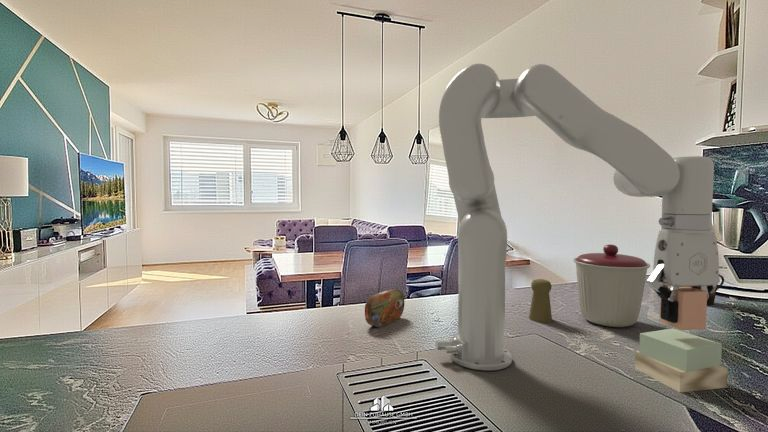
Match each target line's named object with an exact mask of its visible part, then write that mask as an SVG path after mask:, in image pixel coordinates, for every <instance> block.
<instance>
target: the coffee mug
mask: <svg viewBox="0 0 768 432" xmlns="http://www.w3.org/2000/svg"><path fill="white" fill-rule="evenodd" d="M719 278H721V279H720V280H721V281H720V282H721V283H720V284H719V283H718V284H717V285H716V286H715V287H713V290H712V291H711V292H710V293H709V294H708V295H709V298H708V299H707V306H713V305H714V304H715V300H716V294H717V290H719V289H720V288H722V286H723V285H724V283H725V278H724V276H723V275H722V274H721V273H720V272H719ZM697 288H698V287H697Z"/></svg>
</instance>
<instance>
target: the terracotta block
mask: <svg viewBox="0 0 768 432" xmlns="http://www.w3.org/2000/svg"><path fill="white" fill-rule="evenodd" d="M670 288H671V287H670V286H668V289H667V290H668V291H670ZM675 301H677V302H678V321H677V323H672V322H669V321H667V320H664V319H662V318H661V298H659V319H658V322H659V323H662V324H664V325H666V326H669V327H671V328H673V329H677V330H680V331H694V330H695V331H696V330H697V331H698V330H705V329H707V328H706V327H707V308H708V305H707V291H704V290H700V289H696V288H692V287H679V289H678V293H677V296H676V299H675Z"/></svg>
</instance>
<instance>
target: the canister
mask: <svg viewBox="0 0 768 432" xmlns="http://www.w3.org/2000/svg"><path fill="white" fill-rule="evenodd" d="M602 248H603V249H602V250H603V252H591V253H583V254H582V253H581V254H580V255H578V256H577V257H574V258H573V259H572V260H573V263H575V270H576V281H577V292H578V301H579V309H580V313H581V314H582V317H583V318H584V319H585V320H587V321H588V322H590V323H592V324H596V325H599V326H604V327H610V328H611V327H612V328H628V327H631V326H633V325H635V324H636V323H637V321H638V320H639V316H640V313H641V306H642V303H643V297H644V292H645V285H646V281H647V280H646V279H647V273H648V269H649V268H651V263H648V262H646V261H645V260H644V259H643V258H640V257H637V256H633V255H627V254H620V253H618V252H619V247H618V246H617V245H615V244H612V243H611V244H606V245H604V246H603V247H602Z"/></svg>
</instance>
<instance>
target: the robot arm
mask: <svg viewBox="0 0 768 432" xmlns="http://www.w3.org/2000/svg"><path fill="white" fill-rule="evenodd" d="M438 109H439V110H438V111H439V112H438V126H439V127H438V128H439V133H440V138H441V139H440V140H441V144H442V149H443V155H444V160H445V165H446V169H447V175H448V185H449V189H450V191H451V193H452V195H453V199H454V205H455V208H456V213H457V217H458V221H459V227H458V231H457V235H458V236H457V248H458V249H457V250H458V251H457V252H458V253H457V254H458V255H457V257H458V263H457V265H458V274H457V275H458V276H457V277H458V283H457V284H458V299H457V300H458V302H457V303H458V306H457V307H458V308H457V312H458V313H457V317H458V318H457V333H453V338H449V339H448V340H435V344H434V345H435V349H436V351H444V352H445V354H450V358H451V360H452V361H453V362H454V363H456V364H457V365H459V366H462V367H464V368H467V369H471V370H477V371H490V372H491V371H499V370H502V369H506V368H507V367H510V365H511V364H512V362H513V356H512V354H511V352H510V351H509V350H507V349H505V333H506V331H505V330H506V328H505V325H506V324H505V322H506V321H505V320H506V319H505V318H506V267H507V266H506V265H507V250H508V249H507V248H508V230H507V225H506V223H505V221H504V219H503V217H502V213H501V209H500V203H499V199H498V194H497V189H496V185H495V174H494V171H493V170H492V168H491V167H492V166H491V164H490V160H489V156H488V152H487V147H486V144H485V143H486V142H485V137H484V131H483V126H482V119H505V118H506V119H507V118H527V117H529V118H530V117H536V118H537V119H538V120H540V121H541V122H542V123H544V124H545V125H546V126H547V127H548V128H549V129H550V130H552V132H553V133H555V135H557V136H558V137H559V138H560V139H561V140H562V141H563V142H564V143H565V144H567V145H569V146H570V147H571V146H572V147H573V148H576V149H577V150H582V151H585V152H587V153H590V154H592V155H594V156H595V157H598V158H600V159H601V160H603V161H604V162H605V163H606V164H608V165H609V166H611V167H612V168H614V170H615V171H614V173H613V179H612V180H613V184H614V186H615V188H616V189H617V190H618V191H619V192H621V193H622V194H624V195H627V196H629V197H639V198H640V197H641V198H643V197H645V198H646V197H647V198H649V197H650V198H654V197H657V198H658V197H661V196H662V197H661V200H662V201H661V217H660V218H659V219H658V224H659V225H660V227H661V228H660V229H661V230H659V231H658V233H657V234H658V235H657V238H656V242H655V249H654V256H653V266H652V267H653V271H652V272H651V275H649V277H648V279H647V280H646V284H647V285H648V286H649V287H650V288H651V289H652V290H653V291H654V292H655V293H656V294H657V297H658V298H659V299H660V298H661V318H662V319H664V320H667V321H669V322H672V323H677V321H678V302H677V301H675V299H676V296H677V293H678V289H679V287H692V288H696V289H700V290H704V291H707V299H708V298H709V295H708V294H709V293H710V292H711V291H712V290H713V287H715V286H716V285H717V284H718V285H719V283H720V282H721V279H720V278H721V277H720V276H719V273H720V264H719V263H720V262H719V261H720V259H719V249H718V247H719V246H718V242H717V240H718V239H717V237H716V233H715V231H712V224H713V222H712V221H713V198H714V197H713V196H714V177H715V175H714V174H715V163H714V161H713V160H712V158H710V157H708V156H701V155H700V156H698V155H697V156H696V155H695V156H693V155H691V156H676V157H672V155H670V154H669V153H668V152H667V151H666V150H665V149H664V148H663V147H661V146H660V145H659V144H658V143H657V142H655V141H654V140H653V139H652V138H651V137H650V136H649V135H647V134H646V133H644V132H643V131H642V130H640V129H638V128H637V127H635V126H633V125H632V124H630V123H628V122H626V121H624V120H622V119H621V118H618V117H617V116H615V115H614V114H612V113H610V112H607V111H606V110H604V109H603V108H601V106H599V105H597V103H596V102H594V101H593V100H592V99H591V98H589V97H588V96H587V95H586V94H585V93H584V92H582V91H581V90H580V89H579V88H578V87H576V85H574V84H573V83H572V82H571V81H569V79H568V78H566V77H565V76H564V75H563V74H562V73H560V72H559V71H558V70H556V69H555V68H554V67H552V66H551V65H548V64H545V63H539V64H538V63H537V64H534V65H532V66H529V67H528V68H527V69H526V70H524V72H522V73H521V75H520V76H519V77H518V78H509V79H500V78H499V76H498V74H497V73H496V71H495V70H494V69H493V68H492V67H490V66H489V65H487V64H483V63H474V64H471V65H468V66H466V67H464V68H463V69H462V70H460V71H459V72H458V73H457V74H456V75H455V76H454V77H453V78H452V79H451V80H450V81H449V83H448V85H447V86H446V88H445V90H444V92H443V94H442V97H441V101H440V104H439V108H438ZM718 285H717V286H718ZM668 286H670V287H671V288H670V291H668V290H667V289H668ZM697 287H698V288H697Z"/></svg>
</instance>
